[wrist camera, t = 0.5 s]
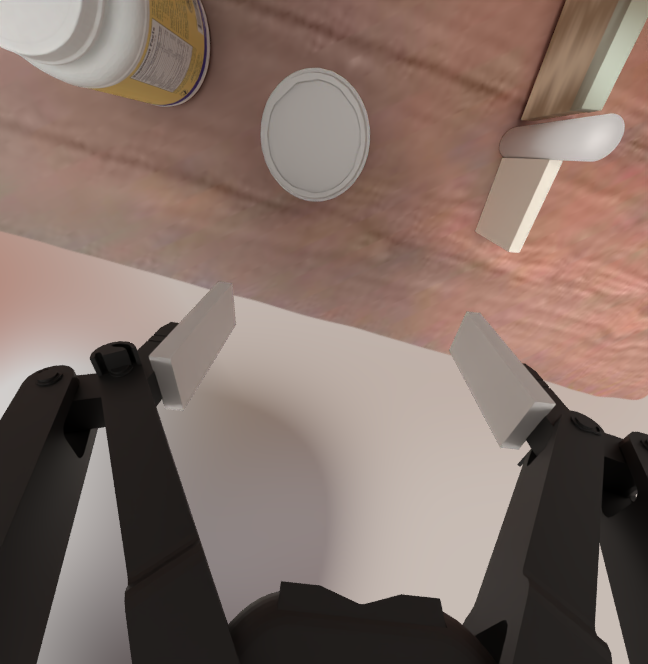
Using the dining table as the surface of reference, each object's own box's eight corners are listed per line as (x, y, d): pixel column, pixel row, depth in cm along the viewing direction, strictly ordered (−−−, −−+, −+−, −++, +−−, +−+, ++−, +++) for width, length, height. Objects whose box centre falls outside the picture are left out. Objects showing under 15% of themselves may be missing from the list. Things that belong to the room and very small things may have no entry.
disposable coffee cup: (361, 86, 30) (371, 54, 20) (363, 185, 35) (371, 198, 25) (276, 97, 31) (244, 72, 21) (289, 192, 36) (269, 208, 26)
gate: (596, -87, 23) (730, -213, 15) (615, -85, 23) (760, -210, 15) (519, 119, 30) (581, 108, 22) (533, 121, 30) (601, 110, 22)
